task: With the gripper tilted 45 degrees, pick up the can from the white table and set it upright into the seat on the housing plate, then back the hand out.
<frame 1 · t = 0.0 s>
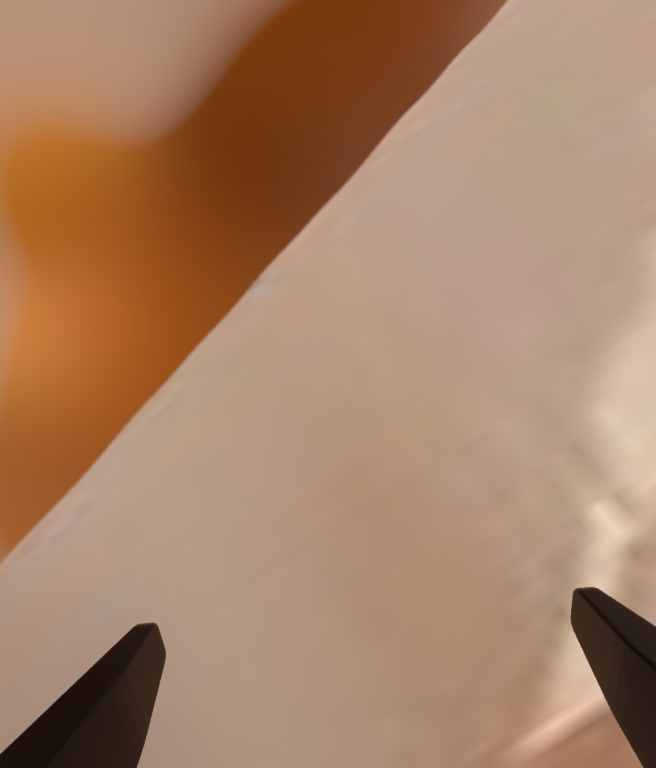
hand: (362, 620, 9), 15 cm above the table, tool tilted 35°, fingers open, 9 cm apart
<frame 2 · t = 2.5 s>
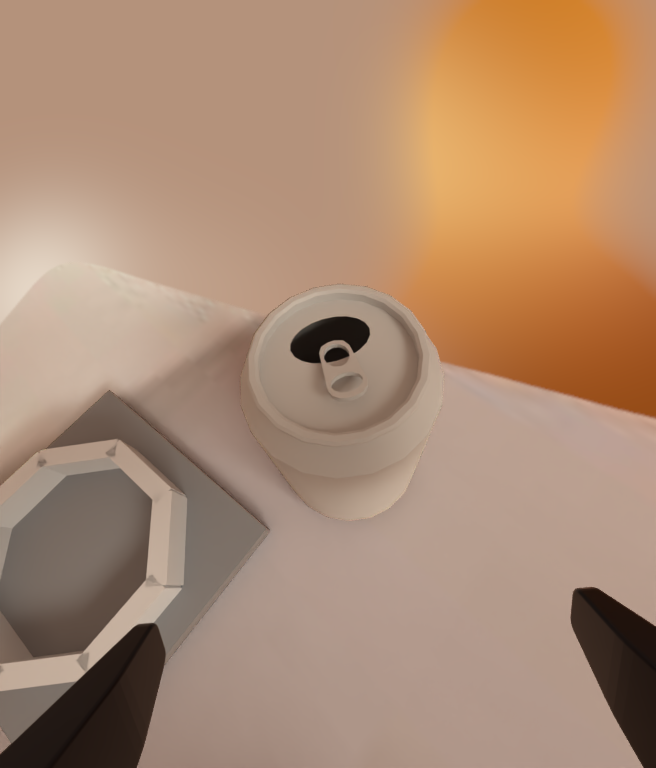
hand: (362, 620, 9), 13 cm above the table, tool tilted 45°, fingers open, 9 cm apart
housing: (96, 554, 23), on the table
can: (349, 458, 24), on the table
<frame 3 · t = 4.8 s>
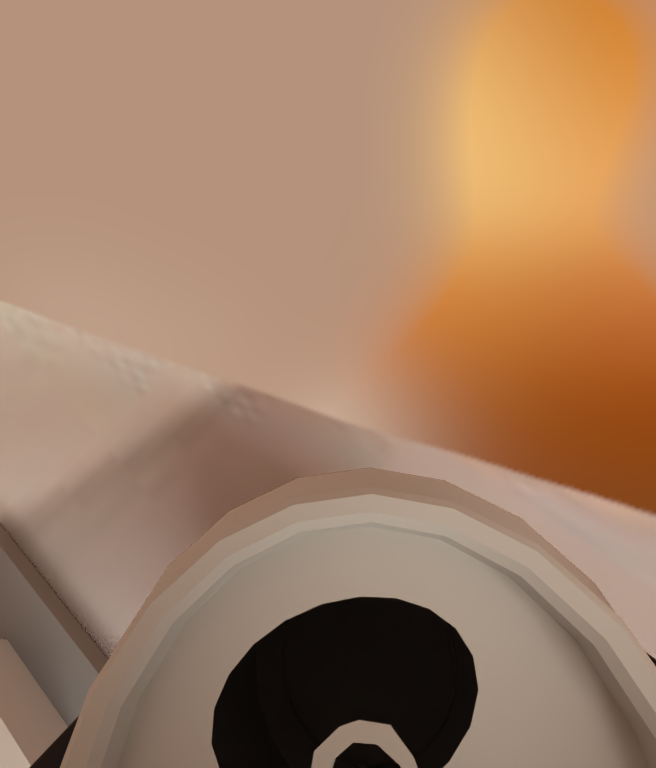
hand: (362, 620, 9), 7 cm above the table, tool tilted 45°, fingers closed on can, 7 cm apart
can: (368, 652, 14), on the table, touching gripper
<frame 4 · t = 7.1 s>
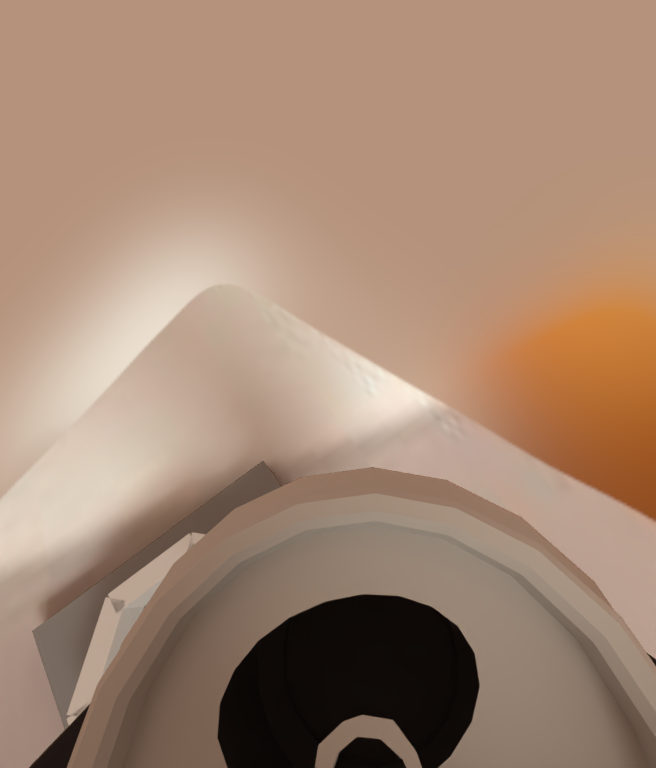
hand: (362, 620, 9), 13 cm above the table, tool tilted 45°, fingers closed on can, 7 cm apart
housing: (226, 662, 20), on the table
can: (369, 650, 14), point 6 cm above the table, touching gripper
when the fingers open (8 cm above the table, at t = 9.4 s): can stays where it is, resting on housing.
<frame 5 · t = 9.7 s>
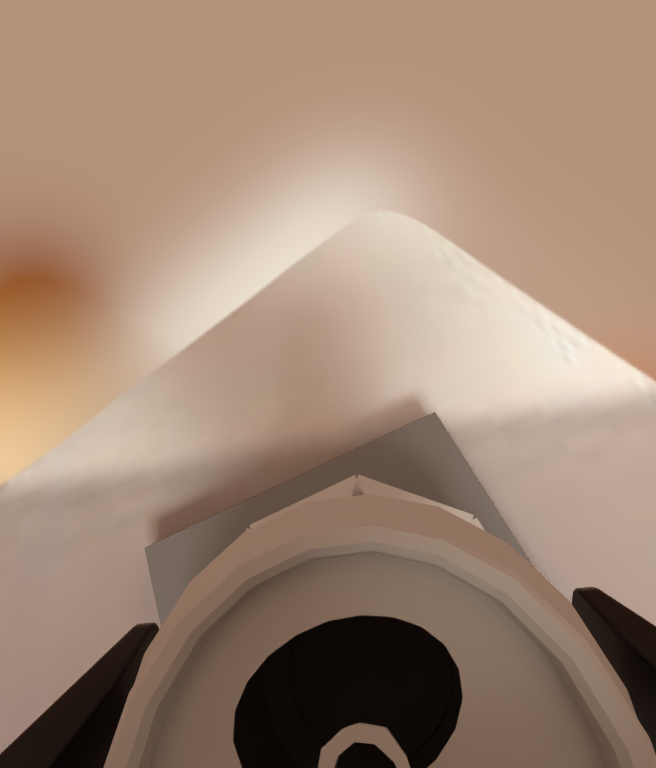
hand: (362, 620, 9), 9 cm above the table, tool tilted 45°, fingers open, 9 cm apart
housing: (367, 645, 16), on the table
can: (368, 654, 15), point 1 cm above the table, touching housing
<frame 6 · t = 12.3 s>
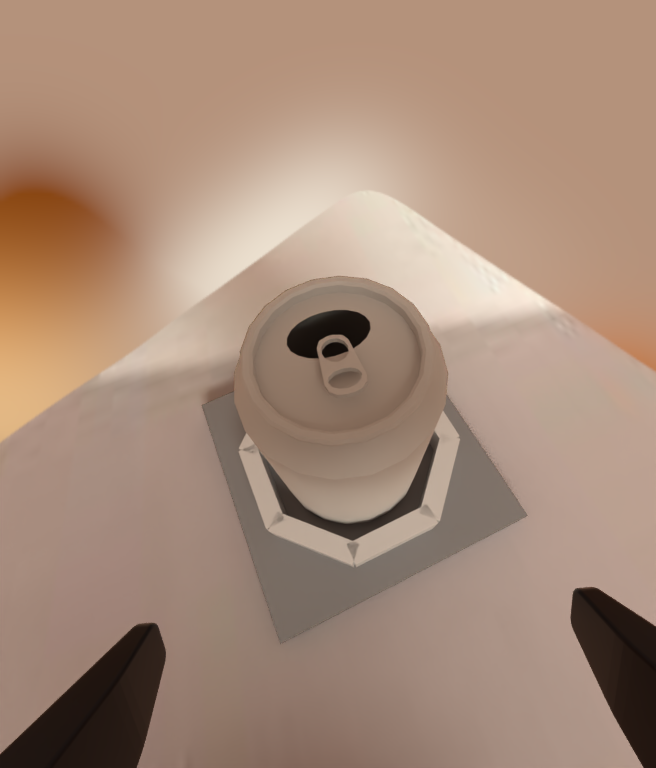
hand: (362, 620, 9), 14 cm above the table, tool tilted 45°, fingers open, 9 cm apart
housing: (349, 459, 24), on the table
can: (349, 459, 23), point 1 cm above the table, touching housing
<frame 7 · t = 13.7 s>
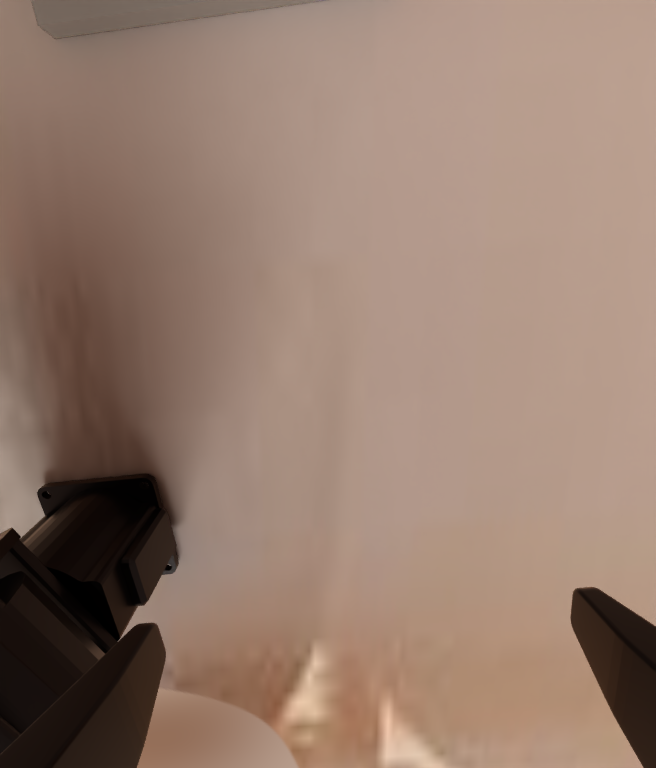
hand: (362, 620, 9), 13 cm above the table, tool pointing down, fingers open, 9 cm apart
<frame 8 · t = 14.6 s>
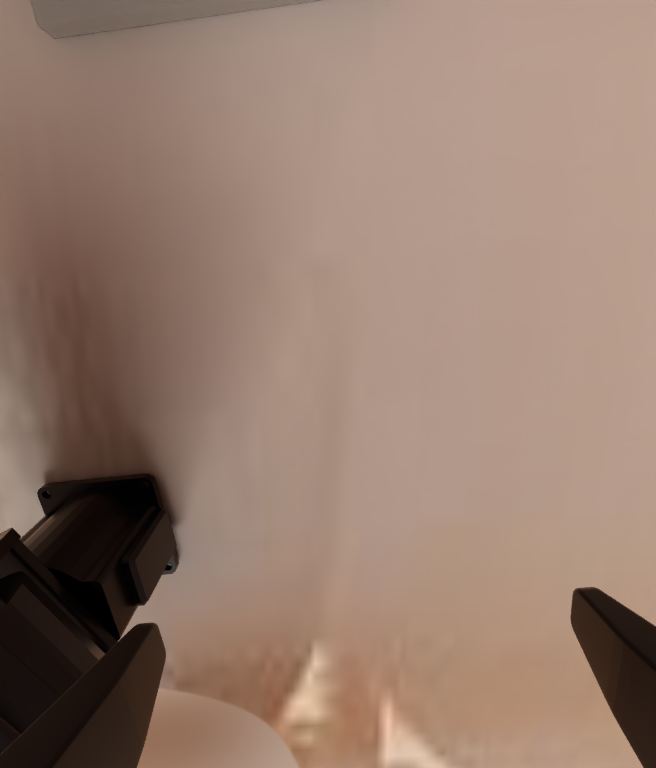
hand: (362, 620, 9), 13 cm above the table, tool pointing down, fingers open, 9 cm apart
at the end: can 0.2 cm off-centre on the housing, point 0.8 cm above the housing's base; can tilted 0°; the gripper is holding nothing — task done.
